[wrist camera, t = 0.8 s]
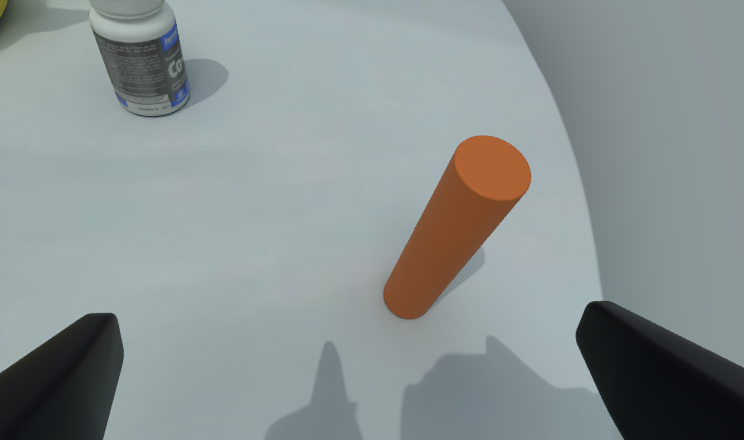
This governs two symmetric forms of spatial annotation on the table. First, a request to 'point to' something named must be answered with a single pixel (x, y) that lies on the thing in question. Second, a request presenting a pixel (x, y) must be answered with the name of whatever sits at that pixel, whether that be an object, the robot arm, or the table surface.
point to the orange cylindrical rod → (457, 221)
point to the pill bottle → (141, 54)
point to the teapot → (2, 6)
